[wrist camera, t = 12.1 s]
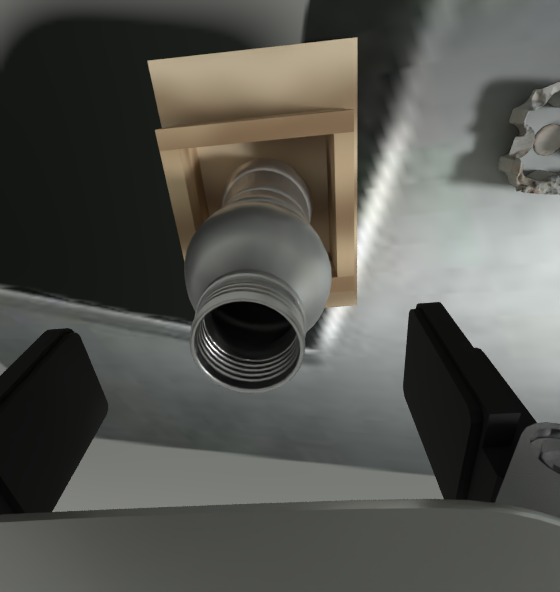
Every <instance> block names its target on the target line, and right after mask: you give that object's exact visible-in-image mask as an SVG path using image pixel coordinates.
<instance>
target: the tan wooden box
mask: <svg viewBox="0 0 560 592" xmlns="http://www.w3.org/2000/svg"><path fill="white" fill-rule="evenodd" d="M148 66H149V71H150V75H151V80H152V84H153V89H154V94H155V99H156V103H157V108H158V112H159V116H160V121H161V126H162V129H157V130H155V133H156V137H157V141H158V146H159V151H160V155H161V160H162V164H163V168H164V173H165V177H166V182H167V186H168V191H169V195H170V200H171V204H172V208H173V213H174V217H175V222H176V226H177V230H178V235H179V240H180V244H181V248H182V253H183V257H184V262H185V257H186V251H187V248H188V246H189V243H190V241H191V239H192V237H193V235H194V234H195V233H196V231H197V230H198V229H199V227H200V226H201V225H202V224H203V223H204V222H205V221H206V220H207V219H208V218H209V217H210V216H211V215H213V214H214V213H215V212H216V211H218V210H220V209H221V208H222V194H223V189H224V186H225V184H226V182H227V179H228V178H229V177H230V175H231V174H232V173H233V171H235V170H236V169H237V168H238V167H239V166H241V165H242V164H244V163H246V162H248V161H251V160H255V159H262V158H268V159H275V160H278V161H281V162H284V163H286V164H287V165H289V166H291V167H292V168H294V169H295V170H296V171H297V172H298V173H299V174H300V175H301V176H302V178H303V179H304V180H305V182H306V184H307V186H308V188H309V190H310V194H311V198H312V208H313V209H312V216H311V222H310V225H311V226H312V228H313V229H314V230H315V231H316V233H317V234H318V236H319V238H320V240H321V242H322V244H323V246H324V248H325V250H326V252H327V254H328V257H329V261H330V265H331V275H332V282H331V288H330V294H329V297H328V299H327V302H326V304H325V307H324V308H326V307H339V306H352V305H357V38H348V39H339V40H330V41H321V42H312V43H303V44H294V45H285V46H276V47H267V48H258V49H249V50H241V51H231V52H222V53H213V54H204V55H195V56H187V57H178V58H168V59H159V60H150V61H148Z"/></svg>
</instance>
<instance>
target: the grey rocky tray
mask: <svg viewBox="0 0 560 592" xmlns="http://www.w3.org/2000/svg"><path fill="white" fill-rule="evenodd" d="M547 101H548V102H549V104H550V105H552V106H554V107H557V108H558V107H560V82H558V83H555V84H553V85H550V86H548V87H545V88H543V89H534V90H533V91H532V93H531V96H530V97H529V99H528V100H527V101H526V102H525V103H524V104H522V105H521V106H519V107H516V108H514V109H513V110H512V113H511V117H510V119H509V123H510V124H513V125H515V126H516V127H517V128H518V129H519V132H520V136H517V137H515V139H514V141H513V144H512V147H511V150H510V153H509V154H507V155H504V156H501V157H500V160H499V164H498V167H497V169H498V170H501V171H503V172H504V173H505V174H506V175H507V177H508V182H509V183H510V184H512V185H513V186H515V187H516V191H520V190H522V191H521V192H525V193H536V194H560V175H558V174H555V173H552V172H547V171H542V170H538V171H534V172H532V173H530V174H528V175H527V176H524V175H523V171H522V170H523V164H522V162H521V160H520V159H519V158H521V157H523V156H524V155H526V154H527V153H528V152H529V150H530V149H531V148H532V146H534V151H535V152H536V153H537V154H539V155H542V156H544V155H550V154H552V153H554V152H555V151H556V150H558V149H559V147H560V126H559V125H556V124H550V125H547V126H545V127H543V128H542V129H541V130H540V131H539V132H538V133H537V134H536V136H535V135H534V130H533V129H532V128H531V127H529V126H528V125H527V124H526V123H525V120H526V117H527V114H528V113H529V112H530V111H533V110H536V109H538V108H541V107H543V106H544V105H545V104H546V103H547Z"/></svg>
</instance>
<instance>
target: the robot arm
mask: <svg viewBox="0 0 560 592" xmlns="http://www.w3.org/2000/svg"><path fill="white" fill-rule="evenodd" d="M403 390H404V396H405V399H406V402H407V404H408V407H409V410H410V412H411V415H412V417H413V420H414V422H415V425H416V428H417V430H418V433H419V435H420V438H421V441H422V443H423V446H424V448H425V451H426V454H427V456H428V459H429V461H430V464H431V467H432V469H433V472H434V474H435V477H436V479H437V482H438V485H439V487H440V490H441V493H442V495H443V497H444V499H397V500H348V501H318V502H289V503H261V504H234V505H208V506H185V507H184V506H183V507H159V508H137V509H135V508H134V509H112V510H111V509H110V510H89V511H67V512H52V511H53V509H54V507H55V506H56V504H57V502H58V500H59V498H60V497H61V495H62V493H63V491H64V490H65V488H66V486H67V484H68V482H69V481H70V479H71V477H72V475H73V474H74V472H75V470H76V468H77V466H78V465H79V463H80V461H81V459H82V457H83V456H84V454H85V452H86V450H87V449H88V447H89V445H90V443H91V441H92V440H93V438H94V436H95V434H96V433H97V431H98V429H99V427H100V425H101V424H102V422H103V420H104V418H105V417H106V414H107V411H108V403H107V400H106V397H105V395H104V393H103V390H102V388H101V385H100V383H99V381H98V378H97V376H96V373H95V371H94V369H93V366H92V364H91V361H90V359H89V356H88V354H87V352H86V349H85V347H84V344H83V342H82V340H81V337H80V336H79V334H77V333H74V331H73V330H72V329H69V328H65V329H51V330H47V331H45V332H44V333H43V334H42V335H41V336H40V337H39V338H38V339H37V340H36V341H35V342H34V343H33V344H32V345H31V346H30V347H29V348H28V349H27V350H26V351H25V352H24V353H23V354H22V355H21V356H20V357H19V358H18V359H17V360H16V361H15V362H14V363H13V364H12V365H11V366H10V367H9V368H8V369H7V370H6V371H5V372H4V373H3V374H2V375H1V376H0V592H560V424H557V423H548V422H544V423H537V422H536V421H535V420H534V418H533V417H532V416H531V414H530V413H529V412H528V410H527V409H526V408H525V406H524V405H523V404H522V402H521V401H520V400H519V398H518V397H517V396H516V394H515V393H514V392H513V390H512V389H511V388H510V386H509V385H508V384H507V382H506V381H505V380H504V378H503V377H502V376H501V375H500V373H499V372H498V371H497V369H496V368H495V367H494V365H493V364H492V363H491V361H490V360H489V359H488V357H487V356H486V355H485V353H484V352H483V351H482V350H481V349H479V348H474V347H473V346H472V345H471V343H470V342H469V341H468V339H467V338H466V337H465V335H464V334H463V332H462V331H461V330H460V328H459V327H458V326H457V324H456V323H455V321H454V320H453V319H452V317H451V316H450V315H449V313H448V312H447V310H446V309H445V308H444V306H443V305H442V304H441V303H440V302H434V303H420V304H417V306H416V309H411V310H410V312H409V320H408V332H407V344H406V357H405V369H404V381H403Z"/></svg>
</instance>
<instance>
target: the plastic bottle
mask: <svg viewBox="0 0 560 592" xmlns="http://www.w3.org/2000/svg"><path fill="white" fill-rule="evenodd" d="M312 209H313V208H312V198H311V194H310V190H309V188H308V186H307V184H306V182H305V180H304V179H303V178H302V176H301V175H300V174H299V173H298V172H297V171H296V170H295V169H294V168H292V167H291V166H289V165H287V164H286V163H284V162H281V161H278V160H275V159H268V158H262V159H255V160H251V161H248V162H246V163H244V164H242V165H241V166H239V167H238V168H237V169H236V170H235V171H233V173H232V174H231V175H230V177H229V178H228V179H227V182H226V184H225V186H224V189H223V194H222V208H221V209H220V210H218V211H216V212H215V213H214V214H213V215H211V216H210V217H209V218H208V219H207V220H206V221H205V222H204V223H203V224H202V225H201V226H200V227H199V229H198V230H197V231H196V233H195V234H194V235H193V237H192V239H191V241H190V243H189V246H188V248H187V251H186V257H185V262H184V268H185V282H186V288H187V292H188V296H189V299H190V302H191V304H192V306H193V308H194V310H195V311H196V312H195V319H194V321H193V323H192V326H191V331H190V350H191V354H192V357H193V359H194V361H195V363H196V365H197V366H198V367H199V369H200V370H201V371H202V373H203V374H204V375H206V376H207V377H208V378H209V379H210V380H211V381H213V382H215V383H216V384H218V385H219V386H222V387H224V388H226V389H229V390H232V391H236V392H241V393H262V392H267V391H271V390H273V389H276V388H279V387H280V386H282V385H284V384H285V383H287V382H288V381H289V380H290V379H291V378H292V377H294V376H295V374H296V373H297V371H298V370H299V368H300V366H301V364H302V361H303V357H304V353H305V336H306V332H307V331H308V330H309V329H310V328H311V327H312V326H313V325H314V324H315V323H316V322H317V320H318V319H319V317H320V316H321V314H322V312H323V309H324V307H325V304H326V302H327V299H328V297H329V294H330V288H331V282H332V275H331V265H330V261H329V257H328V254H327V252H326V250H325V248H324V246H323V244H322V242H321V240H320V238H319V236H318V234H317V233H316V231H315V230H314V229H313V228H312V226H311V225H310V222H311V216H312Z"/></svg>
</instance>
